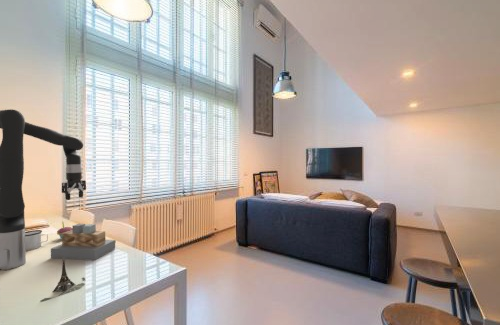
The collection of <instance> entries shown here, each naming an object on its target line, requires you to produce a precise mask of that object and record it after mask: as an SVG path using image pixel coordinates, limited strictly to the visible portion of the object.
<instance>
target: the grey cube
mask: <svg viewBox="0 0 500 325" xmlns="http://www.w3.org/2000/svg"><path fill="white" fill-rule="evenodd" d="M85 225H86V223H76V224H73V225H71V226H72V227H71V228H73V233H81V232H83V226H85Z"/></svg>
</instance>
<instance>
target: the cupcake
mask: <svg viewBox="0 0 500 325" xmlns="http://www.w3.org/2000/svg"><path fill="white" fill-rule="evenodd" d="M61 223H62V224H61V225H62V227H61V228H59V229H58V230H57V231H56V234H57V235H58V236H59V238H60V239H61V240H62V233H65V232H67V231H70V230H73V227H70V226H65V224H64V221H63V220H62V222H61Z"/></svg>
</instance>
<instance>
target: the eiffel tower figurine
mask: <svg viewBox="0 0 500 325" xmlns="http://www.w3.org/2000/svg"><path fill="white" fill-rule="evenodd" d="M65 261H66V259H64V258H63V259H62V261H61V262H62V268H61V269H62V270H61V275H60V279H59V281H58V282H57V285H56V287H54V289H53V290H52V293H60V294H59V295H56V296H53V297H45V298H42V299H41V300H39V302H40V303H42V302H45V301H47V300H51V299H53V298H57V297H60V296H63V295H66V294H68V293H69V294H70V293H72V292H75V291H78V290H80V289H82V288H83V287H84V286H85V285H86V283H84V282H85V281H86V277H82V278H81V279H82V280H81V283H78V284H76V283H74V282H73V281H72V280H71V278H69V276H68V274H67V270H66V263H65ZM83 281H84V282H83Z"/></svg>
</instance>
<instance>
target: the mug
mask: <svg viewBox="0 0 500 325" xmlns="http://www.w3.org/2000/svg"><path fill="white" fill-rule="evenodd" d="M42 232H43V230H42V229H41V230H40V229H36V230H35V229H34V230H29V231H25V251H32V250H36V249H38V248H40V247H42V243H46V242H48V240H49V235H48V233H42ZM42 236H46V240H44V241H43V240H42Z"/></svg>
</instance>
